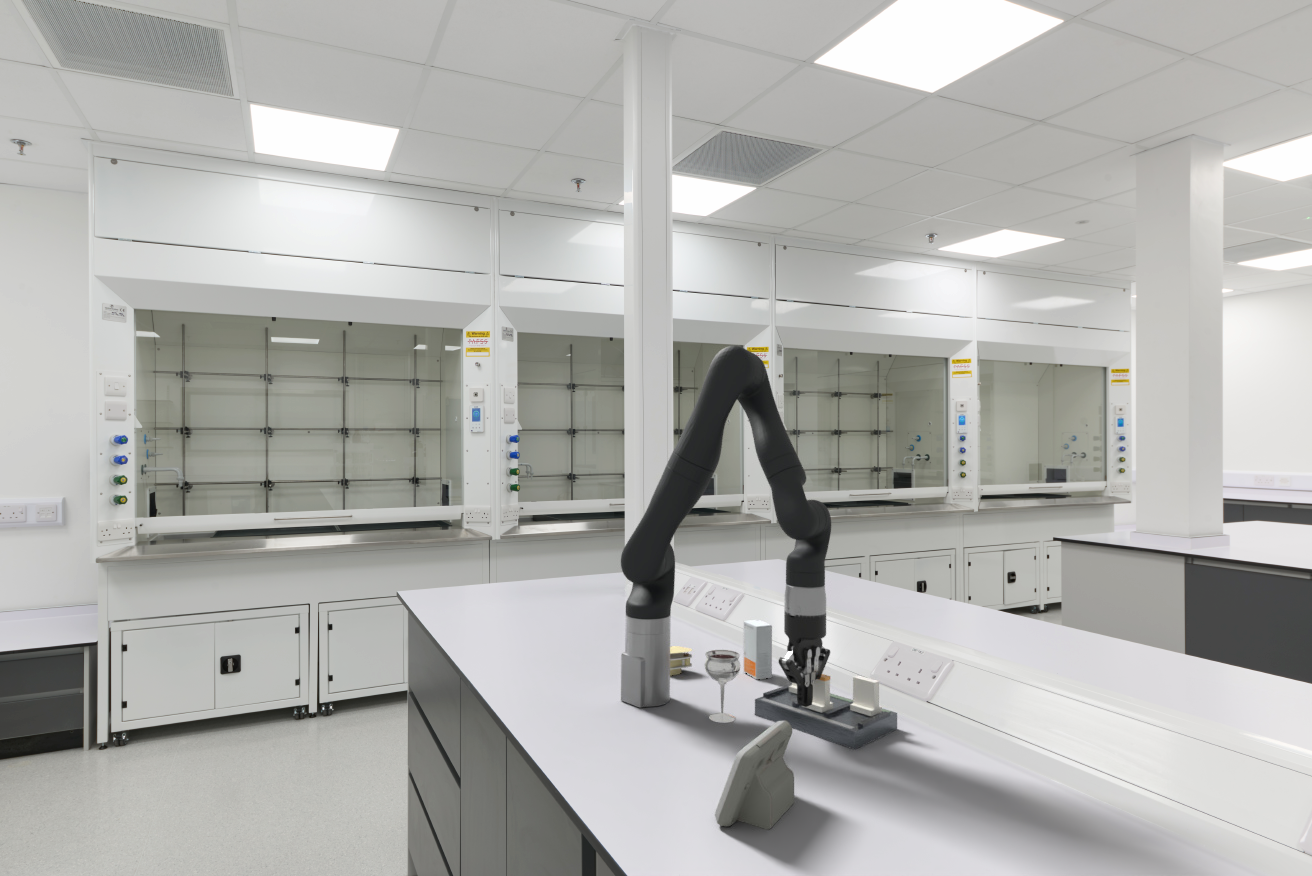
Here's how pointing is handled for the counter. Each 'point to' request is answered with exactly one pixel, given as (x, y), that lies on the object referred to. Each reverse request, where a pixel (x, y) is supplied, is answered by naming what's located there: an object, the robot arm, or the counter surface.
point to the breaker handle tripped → (821, 695)
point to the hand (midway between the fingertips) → (804, 705)
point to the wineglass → (722, 675)
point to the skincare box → (757, 649)
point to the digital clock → (759, 781)
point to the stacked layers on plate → (679, 659)
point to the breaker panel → (826, 718)
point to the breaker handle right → (865, 696)
